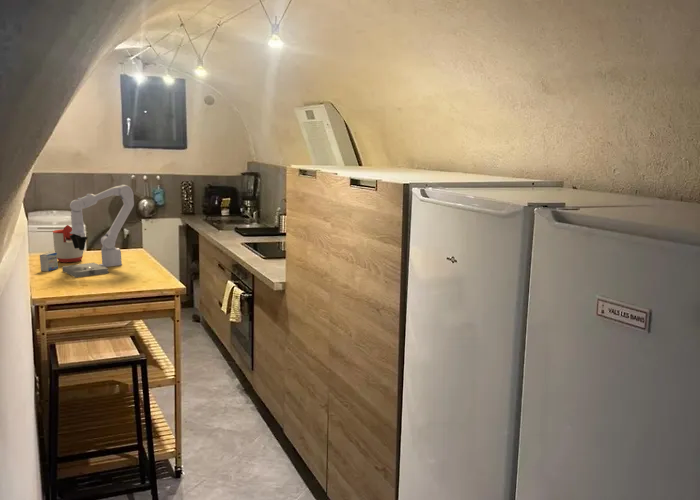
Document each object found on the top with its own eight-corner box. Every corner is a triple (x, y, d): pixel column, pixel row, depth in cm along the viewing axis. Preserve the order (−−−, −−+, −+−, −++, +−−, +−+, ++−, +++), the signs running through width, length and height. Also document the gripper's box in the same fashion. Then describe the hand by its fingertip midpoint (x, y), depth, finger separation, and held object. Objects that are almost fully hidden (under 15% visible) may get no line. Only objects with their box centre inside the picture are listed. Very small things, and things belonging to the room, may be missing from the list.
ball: (92, 267, 330) (91, 264, 327) (94, 273, 329) (93, 271, 326) (85, 269, 329) (84, 267, 326) (87, 275, 328) (86, 273, 325)
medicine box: (48, 271, 333) (47, 254, 332) (40, 271, 334) (39, 254, 333) (58, 268, 341) (57, 252, 339) (50, 268, 342) (49, 251, 340)
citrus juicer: (55, 265, 350) (53, 228, 347) (53, 259, 365) (51, 224, 362) (87, 262, 357) (84, 226, 354) (83, 257, 372) (81, 222, 369)
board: (94, 267, 344) (94, 262, 344) (108, 273, 329) (108, 268, 329) (62, 271, 334) (62, 266, 334) (75, 277, 319) (75, 272, 319)
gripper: (65, 222, 342) (66, 248, 344) (74, 225, 331) (76, 251, 333) (78, 221, 346) (80, 246, 348) (88, 224, 335) (90, 250, 338)
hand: (79, 249), depth 341 cm, fingers open, 7 cm apart
